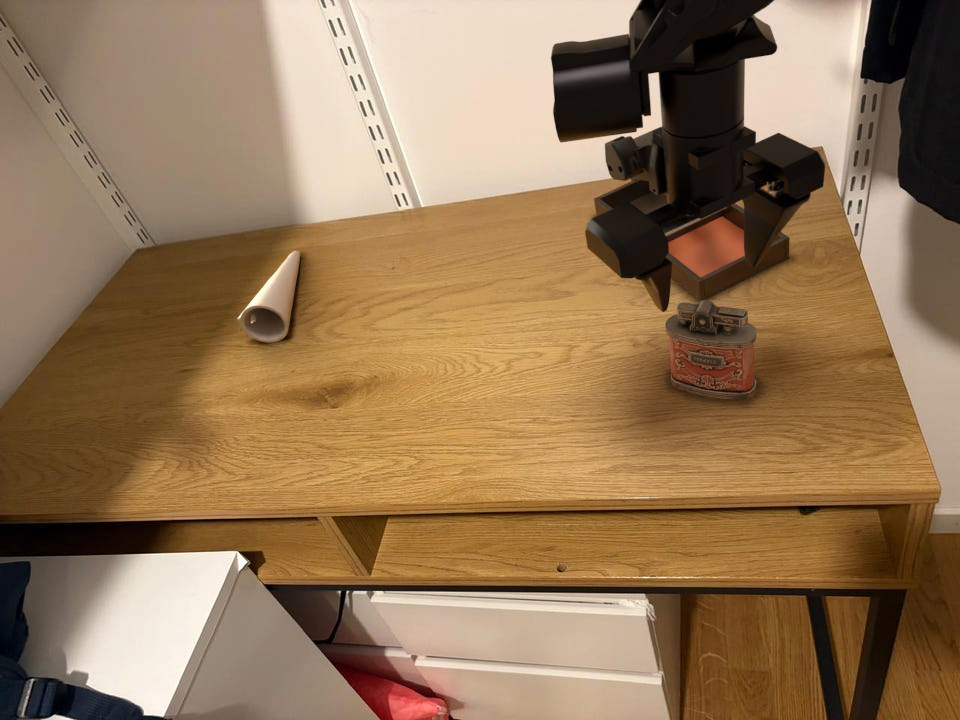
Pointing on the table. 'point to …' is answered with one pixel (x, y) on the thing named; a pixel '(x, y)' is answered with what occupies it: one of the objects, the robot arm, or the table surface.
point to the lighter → (712, 350)
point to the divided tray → (701, 243)
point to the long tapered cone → (272, 304)
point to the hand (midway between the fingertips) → (706, 286)
